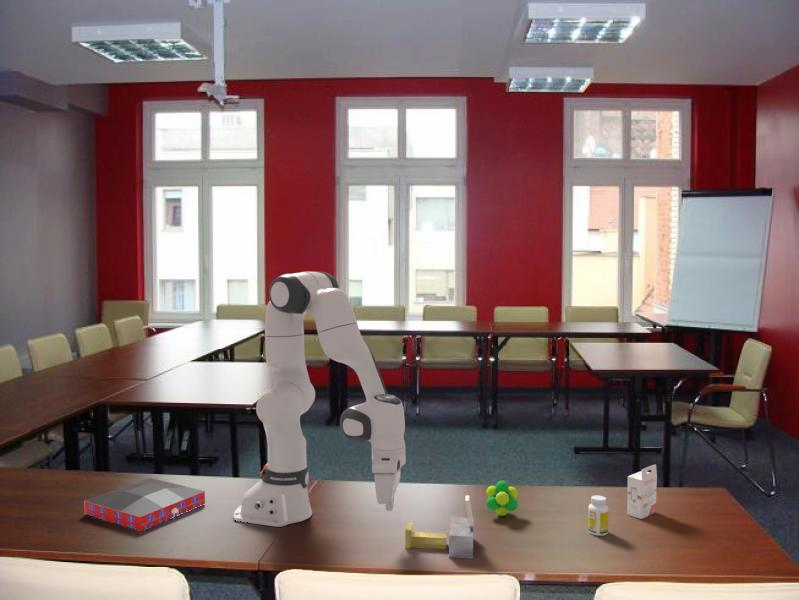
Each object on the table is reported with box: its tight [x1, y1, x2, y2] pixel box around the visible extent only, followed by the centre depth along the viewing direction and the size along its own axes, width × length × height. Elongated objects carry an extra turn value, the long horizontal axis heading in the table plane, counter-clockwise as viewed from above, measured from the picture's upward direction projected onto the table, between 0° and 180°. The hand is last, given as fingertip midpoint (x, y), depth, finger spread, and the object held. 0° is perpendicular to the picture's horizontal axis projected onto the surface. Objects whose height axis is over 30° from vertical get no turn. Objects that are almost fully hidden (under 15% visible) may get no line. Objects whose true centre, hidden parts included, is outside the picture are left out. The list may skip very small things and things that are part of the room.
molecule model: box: [485, 480, 519, 517], centre depth 207 cm, size 8×8×8 cm
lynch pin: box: [404, 522, 448, 550], centre depth 186 cm, size 10×5×5 cm, turn 83°
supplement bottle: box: [587, 494, 610, 537], centre depth 195 cm, size 5×5×10 cm
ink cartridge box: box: [626, 464, 658, 520], centre depth 209 cm, size 9×5×15 cm, turn 131°
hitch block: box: [448, 516, 475, 560], centre depth 185 cm, size 6×12×6 cm, turn 173°
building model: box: [83, 477, 206, 532], centre depth 210 cm, size 24×25×7 cm
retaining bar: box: [464, 494, 475, 529], centre depth 184 cm, size 1×4×8 cm, turn 173°
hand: (389, 508), depth 186 cm, fingers closed
